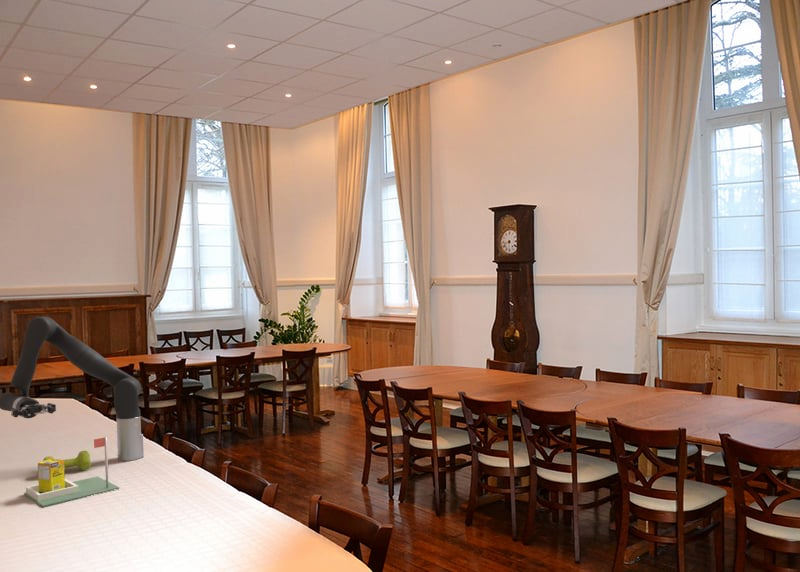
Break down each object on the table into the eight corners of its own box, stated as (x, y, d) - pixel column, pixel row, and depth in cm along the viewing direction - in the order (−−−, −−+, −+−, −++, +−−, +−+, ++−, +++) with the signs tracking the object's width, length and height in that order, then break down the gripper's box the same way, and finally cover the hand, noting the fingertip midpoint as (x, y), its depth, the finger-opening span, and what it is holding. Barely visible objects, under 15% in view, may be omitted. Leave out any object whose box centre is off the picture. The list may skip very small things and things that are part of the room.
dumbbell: (45, 479, 254) (44, 460, 254) (41, 474, 261) (41, 455, 261) (92, 470, 264) (91, 452, 264) (87, 466, 270) (87, 448, 270)
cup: (97, 477, 254) (95, 428, 253) (119, 489, 239) (117, 436, 239) (24, 494, 236) (22, 441, 236) (43, 507, 222) (41, 451, 221)
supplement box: (65, 490, 238) (64, 459, 238) (51, 495, 232) (50, 463, 232) (52, 488, 240) (51, 458, 240) (38, 494, 234) (37, 462, 234)
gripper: (5, 400, 255) (18, 405, 244) (45, 394, 265) (60, 399, 254) (5, 420, 256) (18, 426, 244) (46, 413, 266) (60, 419, 254)
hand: (39, 412), depth 249 cm, fingers open, 8 cm apart
